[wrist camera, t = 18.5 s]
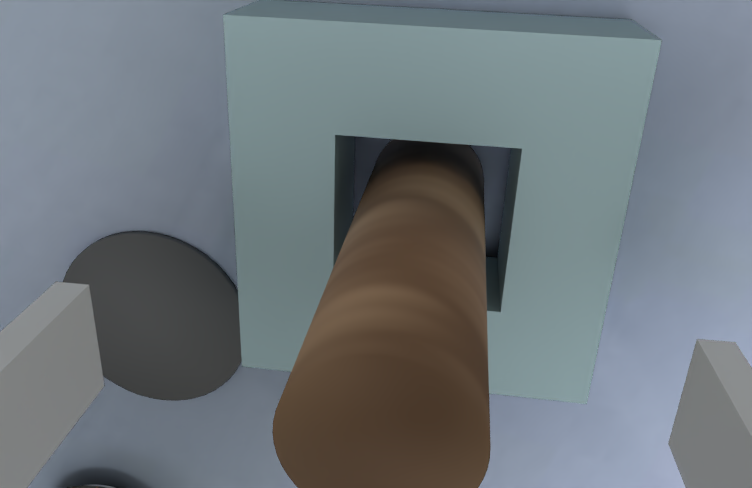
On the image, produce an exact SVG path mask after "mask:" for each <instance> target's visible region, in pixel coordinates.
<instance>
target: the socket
mask: <svg viewBox="0 0 752 488" xmlns="http://www.w3.org/2000/svg"><path fill="white" fill-rule="evenodd" d="M223 25H224V43H225V62H226V80H227V99H228V117H229V136H230V154H231V173H232V191H233V210H234V228H235V247H236V265H237V284H238V302H239V321H240V339H241V358H242V367H250V368H260V369H269V370H278V371H287V372H291V371H292V369H293V366H294V364H295V361H296V359H297V356H298V354H299V352H300V349H301V347H302V344H303V342H304V339H305V337H306V334H307V332H308V329H309V327H310V324H311V322H312V319H313V317H314V314H315V312H316V310H317V307H318V305H319V302H320V300H321V297H322V295H323V292H324V290H325V287H326V285H327V282H328V280H329V277H330V275H331V272H332V270H333V267H334V265H335V263H336V260H337V258H338V255H339V253H340V250H341V248H342V245H343V243H344V240H345V238H346V235H347V233H348V230H349V228H350V225H351V223H352V220H353V193H354V153H355V136H358V137H371V138H385V139H398V140H412V141H425V142H438V143H452V144H465V145H479V146H492V147H506V148H511V152H510V160H509V168H508V176H507V184H506V192H505V200H504V208H503V216H502V224H501V232H500V240H499V248H498V256H497V258H495V257H486V294H487V334H488V374H489V394H498V395H507V396H516V397H525V398H534V399H544V400H553V401H562V402H571V403H580V404H587V400H588V395H589V390H590V385H591V380H592V376H593V371H594V366H595V361H596V356H597V351H598V347H599V342H600V337H601V332H602V327H603V322H604V318H605V313H606V308H607V303H608V298H609V293H610V289H611V284H612V279H613V274H614V269H615V264H616V259H617V255H618V250H619V245H620V240H621V235H622V230H623V226H624V221H625V216H626V211H627V206H628V201H629V197H630V192H631V187H632V182H633V177H634V172H635V168H636V163H637V158H638V153H639V148H640V143H641V139H642V134H643V129H644V124H645V119H646V114H647V110H648V105H649V100H650V95H651V90H652V85H653V81H654V76H655V71H656V66H657V61H658V56H659V52H660V47H661V42H662V40H661V39H659V38H658V37H657V36H655V35H654V34H652V33H651V32H649V31H648V30H646V29H645V28H643V27H642V26H640V25H639V24H638V23H636V22H635V21H633V20H629V19H611V18H593V17H575V16H557V15H539V14H521V13H503V12H485V11H466V10H448V9H430V8H412V7H394V6H376V5H358V4H340V3H322V2H304V1H286V0H259V1H256V2H254V3H251V4H249V5H246V6H244V7H241V8H239V9H236V10H234V11H231V12H229V13H226V14H224V15H223Z"/></svg>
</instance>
